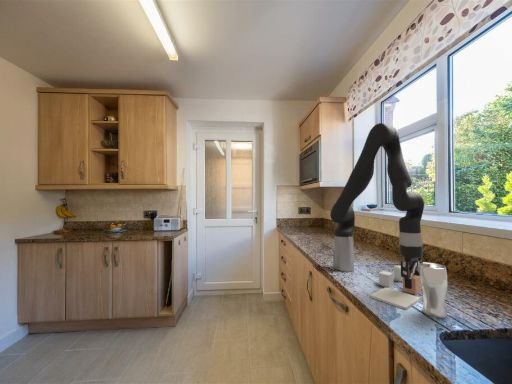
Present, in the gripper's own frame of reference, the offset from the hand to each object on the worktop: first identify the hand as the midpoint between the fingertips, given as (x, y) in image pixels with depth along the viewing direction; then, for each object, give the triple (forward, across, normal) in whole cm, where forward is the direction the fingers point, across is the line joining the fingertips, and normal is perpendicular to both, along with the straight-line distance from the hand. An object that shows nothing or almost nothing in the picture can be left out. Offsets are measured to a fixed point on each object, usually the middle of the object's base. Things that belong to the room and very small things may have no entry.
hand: (412, 285), depth 88 cm
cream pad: (+2, +12, -2) cm, 12 cm away
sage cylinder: (+2, -9, -8) cm, 12 cm away
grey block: (+2, +1, -9) cm, 10 cm away
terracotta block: (+2, 0, 0) cm, 2 cm away
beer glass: (+3, +14, +11) cm, 17 cm away
